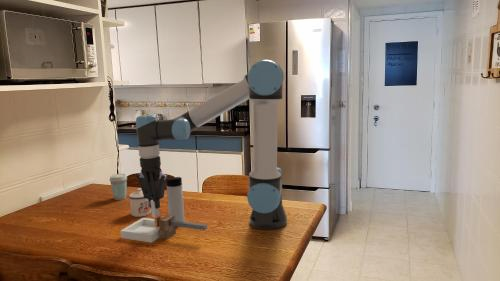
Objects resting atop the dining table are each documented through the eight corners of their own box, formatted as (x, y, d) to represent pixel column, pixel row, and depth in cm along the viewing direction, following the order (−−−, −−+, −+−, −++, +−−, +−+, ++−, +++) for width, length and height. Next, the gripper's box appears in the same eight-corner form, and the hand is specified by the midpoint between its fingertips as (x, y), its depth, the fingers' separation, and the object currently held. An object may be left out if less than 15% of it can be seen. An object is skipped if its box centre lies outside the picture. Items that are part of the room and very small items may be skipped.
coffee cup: (111, 197, 200) (109, 174, 198) (128, 195, 203) (126, 172, 200) (111, 202, 192) (108, 178, 190) (129, 199, 194) (126, 176, 192)
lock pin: (208, 230, 143) (208, 220, 143) (203, 233, 140) (203, 224, 139) (160, 223, 151) (160, 215, 150) (155, 227, 148) (154, 218, 147)
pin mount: (175, 233, 151) (174, 215, 149) (167, 239, 145) (165, 220, 144) (168, 232, 152) (167, 214, 150) (160, 238, 146) (158, 219, 145)
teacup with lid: (140, 218, 168) (138, 192, 166) (126, 215, 173) (124, 190, 171) (160, 210, 178) (158, 185, 176) (147, 207, 183) (145, 183, 181)
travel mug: (170, 227, 157) (166, 179, 153) (168, 221, 163) (165, 175, 160) (185, 225, 158) (182, 178, 155) (183, 219, 165) (180, 174, 161)
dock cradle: (172, 228, 156) (172, 221, 155) (151, 242, 143) (151, 235, 142) (143, 224, 161) (143, 217, 160) (121, 238, 148) (120, 230, 148)
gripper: (170, 154, 146) (175, 214, 150) (141, 153, 151) (147, 211, 155) (158, 158, 139) (164, 221, 143) (129, 157, 144) (135, 218, 148)
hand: (155, 216), depth 149 cm, fingers closed
